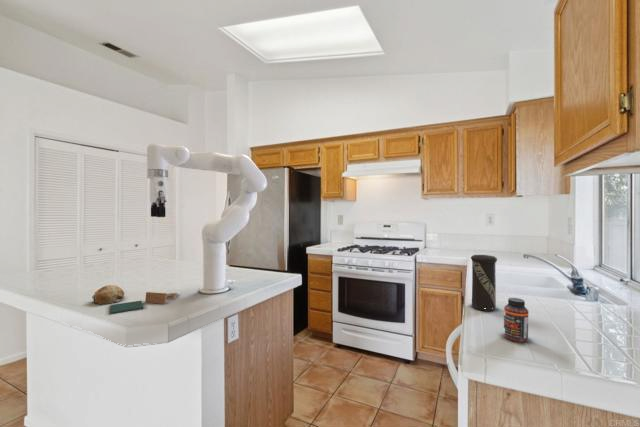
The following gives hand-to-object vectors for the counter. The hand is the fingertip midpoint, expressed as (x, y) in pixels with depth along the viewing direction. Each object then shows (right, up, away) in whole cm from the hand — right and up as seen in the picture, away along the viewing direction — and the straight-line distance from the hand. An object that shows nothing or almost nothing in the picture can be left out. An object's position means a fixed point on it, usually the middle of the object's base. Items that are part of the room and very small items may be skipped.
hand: (157, 216), depth 124 cm
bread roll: (-19, -34, -2) cm, 39 cm away
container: (+128, -35, -9) cm, 133 cm away
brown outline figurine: (+1, -32, -4) cm, 32 cm away
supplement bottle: (+123, -35, -37) cm, 133 cm away
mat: (-6, -34, -10) cm, 36 cm away
